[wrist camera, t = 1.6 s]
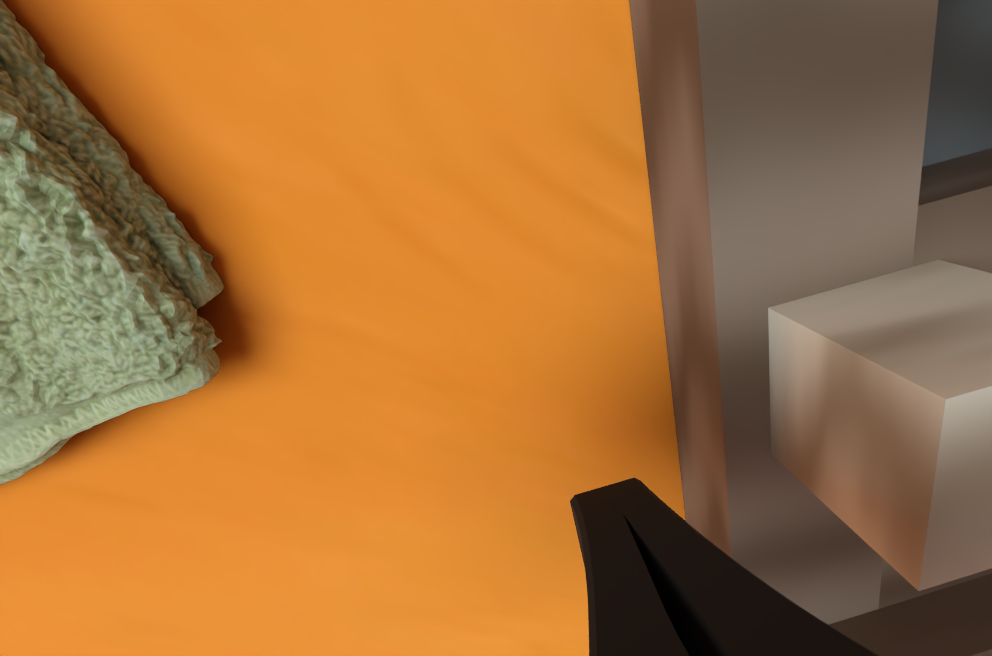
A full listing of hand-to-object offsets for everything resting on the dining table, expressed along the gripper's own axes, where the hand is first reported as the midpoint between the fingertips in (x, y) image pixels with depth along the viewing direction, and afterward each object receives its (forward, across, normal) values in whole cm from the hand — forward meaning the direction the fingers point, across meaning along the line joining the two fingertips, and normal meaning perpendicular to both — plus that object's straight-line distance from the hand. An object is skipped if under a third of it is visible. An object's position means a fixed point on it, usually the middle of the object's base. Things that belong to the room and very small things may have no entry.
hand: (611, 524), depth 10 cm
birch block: (+3, -8, 0) cm, 8 cm away
